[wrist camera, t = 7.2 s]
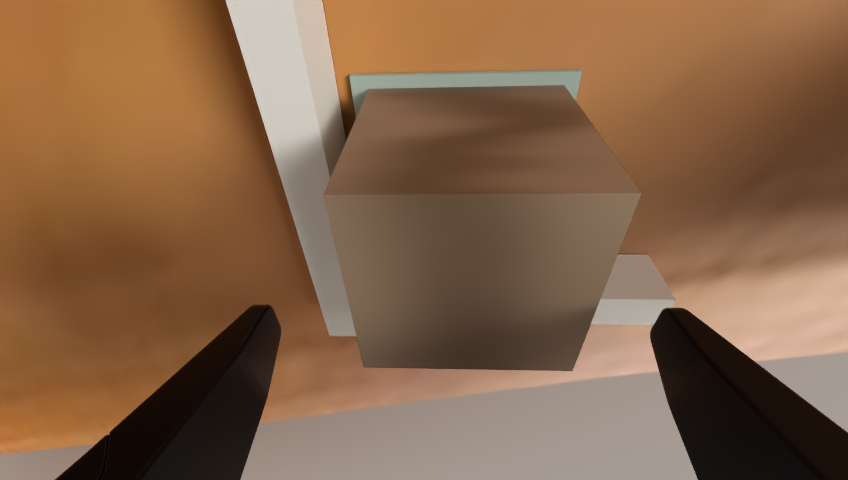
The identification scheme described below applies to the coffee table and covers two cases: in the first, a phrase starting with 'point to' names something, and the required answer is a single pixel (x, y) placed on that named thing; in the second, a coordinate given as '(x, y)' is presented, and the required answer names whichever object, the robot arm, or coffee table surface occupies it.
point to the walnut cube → (476, 226)
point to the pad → (462, 80)
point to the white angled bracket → (324, 141)
